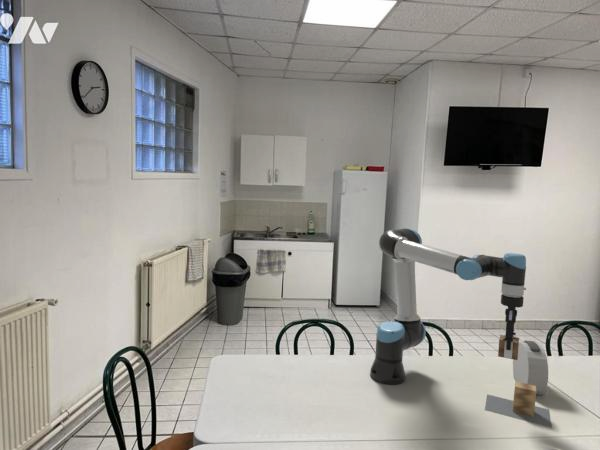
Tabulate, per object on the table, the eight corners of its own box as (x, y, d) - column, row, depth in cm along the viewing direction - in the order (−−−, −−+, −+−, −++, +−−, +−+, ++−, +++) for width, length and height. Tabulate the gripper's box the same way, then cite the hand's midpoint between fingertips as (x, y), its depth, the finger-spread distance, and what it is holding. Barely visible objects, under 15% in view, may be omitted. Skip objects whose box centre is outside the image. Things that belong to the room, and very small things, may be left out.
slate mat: (484, 410, 161) (484, 409, 161) (487, 395, 174) (487, 394, 173) (551, 428, 151) (551, 427, 151) (548, 410, 164) (549, 409, 164)
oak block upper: (513, 399, 160) (515, 386, 160) (514, 393, 165) (515, 381, 164) (535, 404, 157) (536, 391, 157) (534, 398, 162) (535, 385, 161)
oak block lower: (512, 411, 161) (513, 399, 160) (512, 405, 165) (514, 393, 165) (533, 417, 158) (535, 404, 157) (533, 410, 162) (534, 398, 162)
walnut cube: (498, 356, 159) (499, 339, 159) (499, 351, 165) (500, 334, 164) (517, 360, 156) (518, 343, 155) (517, 354, 162) (519, 337, 161)
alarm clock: (546, 400, 172) (551, 353, 170) (526, 397, 173) (531, 351, 171) (528, 377, 192) (533, 334, 190) (511, 374, 194) (515, 333, 192)
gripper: (523, 302, 148) (518, 365, 150) (524, 291, 165) (519, 348, 167) (499, 299, 152) (495, 361, 154) (502, 288, 169) (499, 344, 171)
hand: (508, 354), depth 160 cm, fingers closed on walnut cube, 6 cm apart
